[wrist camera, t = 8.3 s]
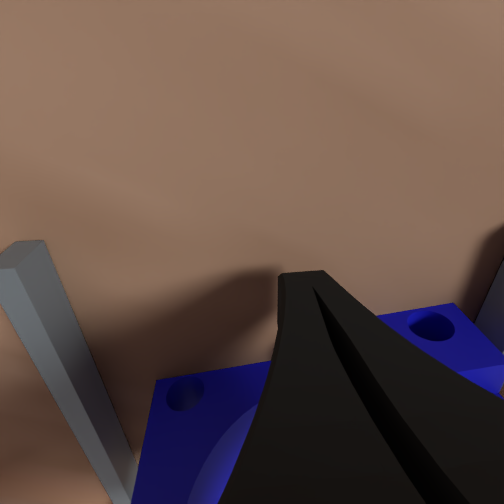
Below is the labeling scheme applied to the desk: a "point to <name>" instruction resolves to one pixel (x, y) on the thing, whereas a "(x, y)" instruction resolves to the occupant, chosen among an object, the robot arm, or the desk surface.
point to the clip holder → (82, 364)
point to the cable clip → (247, 398)
